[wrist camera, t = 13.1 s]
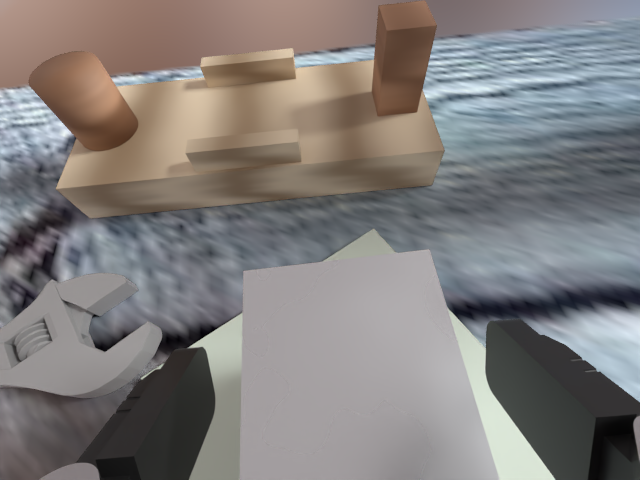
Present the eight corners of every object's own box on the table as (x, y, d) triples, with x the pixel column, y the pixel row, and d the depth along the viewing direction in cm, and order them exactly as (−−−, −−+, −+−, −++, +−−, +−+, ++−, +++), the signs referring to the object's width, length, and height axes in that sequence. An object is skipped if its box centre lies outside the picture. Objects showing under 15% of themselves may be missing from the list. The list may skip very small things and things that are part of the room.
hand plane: (403, 94, 26) (425, -31, 19) (432, 185, 21) (475, 64, 14) (121, 123, 26) (41, 10, 19) (90, 218, 22) (-30, 116, 15)
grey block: (382, 350, 16) (429, 248, 7) (410, 496, 13) (540, 615, 4) (298, 360, 16) (243, 270, 7) (307, 508, 13) (236, 651, 4)
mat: (372, 233, 20) (373, 228, 19) (593, 473, 13) (603, 475, 13) (146, 379, 16) (140, 377, 16) (301, 789, 10) (299, 808, 10)
